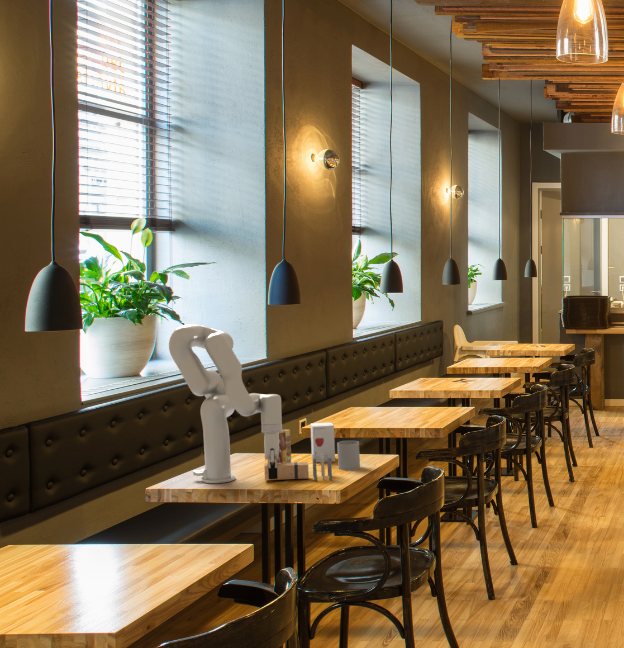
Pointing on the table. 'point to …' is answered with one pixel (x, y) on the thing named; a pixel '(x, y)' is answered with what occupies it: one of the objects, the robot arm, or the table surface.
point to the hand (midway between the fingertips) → (273, 476)
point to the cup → (348, 455)
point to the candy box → (284, 447)
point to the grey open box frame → (322, 467)
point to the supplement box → (322, 441)
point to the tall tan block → (289, 470)
